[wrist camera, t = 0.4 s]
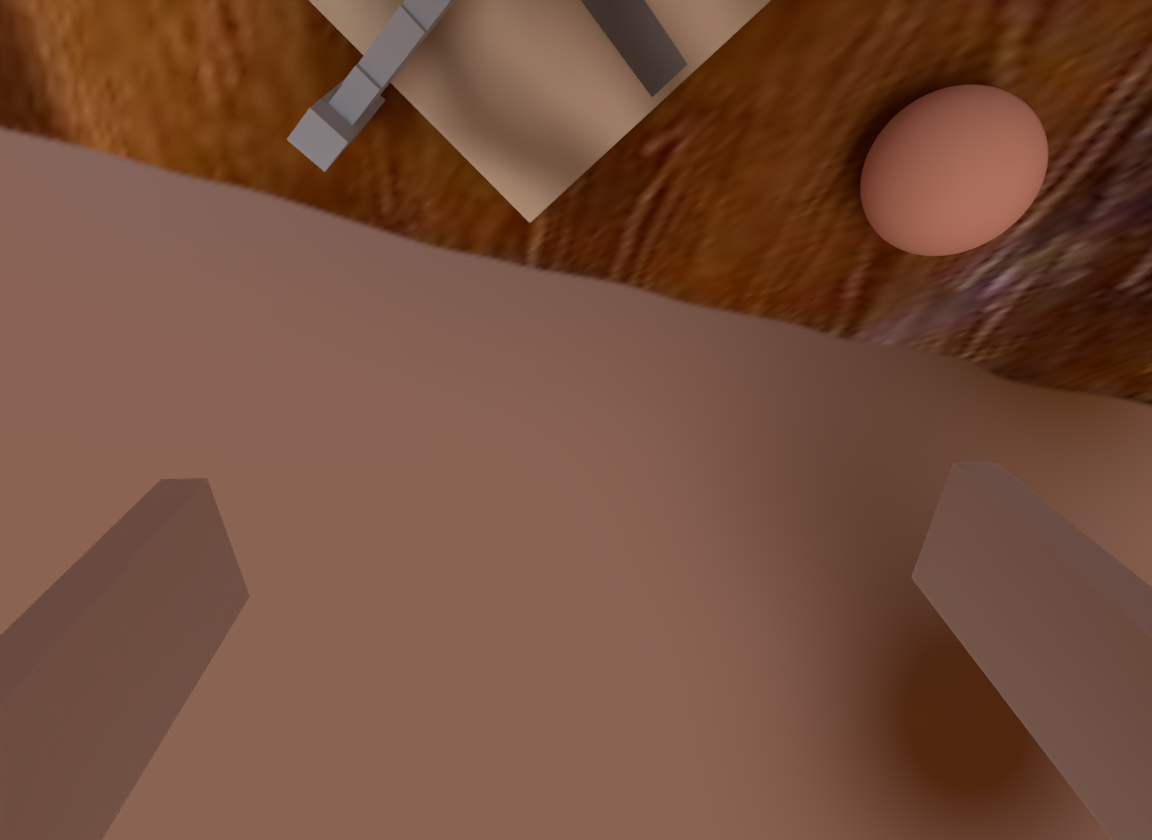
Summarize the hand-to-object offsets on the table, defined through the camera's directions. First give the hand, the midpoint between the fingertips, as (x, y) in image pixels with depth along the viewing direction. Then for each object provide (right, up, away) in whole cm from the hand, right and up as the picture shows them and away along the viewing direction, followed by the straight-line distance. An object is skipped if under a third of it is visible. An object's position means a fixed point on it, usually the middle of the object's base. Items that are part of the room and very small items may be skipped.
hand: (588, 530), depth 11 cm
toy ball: (+18, +17, +22) cm, 33 cm away
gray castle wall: (-8, +21, +17) cm, 28 cm away
